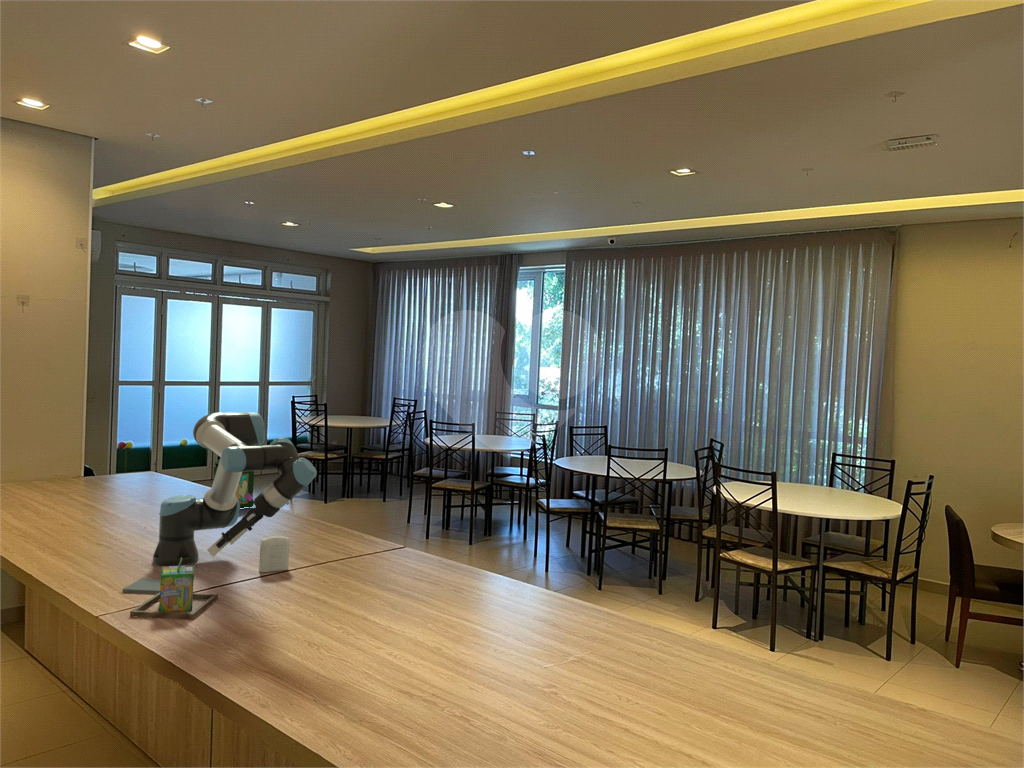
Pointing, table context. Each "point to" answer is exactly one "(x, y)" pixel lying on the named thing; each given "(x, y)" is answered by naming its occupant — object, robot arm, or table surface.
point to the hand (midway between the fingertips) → (219, 547)
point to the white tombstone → (274, 554)
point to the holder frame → (173, 615)
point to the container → (243, 487)
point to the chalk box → (176, 588)
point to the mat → (144, 586)
